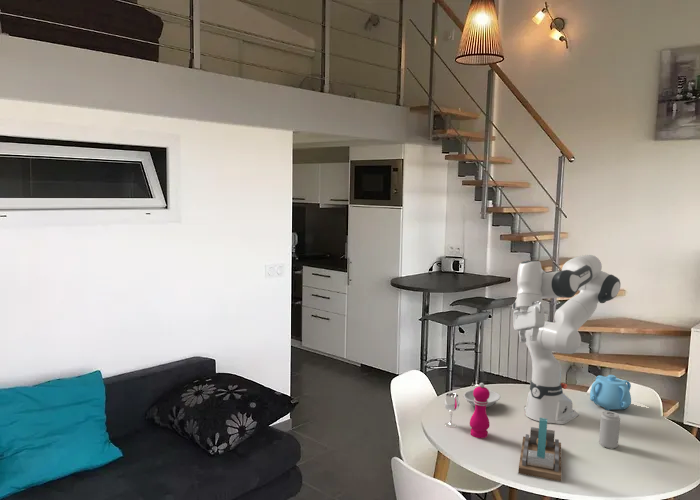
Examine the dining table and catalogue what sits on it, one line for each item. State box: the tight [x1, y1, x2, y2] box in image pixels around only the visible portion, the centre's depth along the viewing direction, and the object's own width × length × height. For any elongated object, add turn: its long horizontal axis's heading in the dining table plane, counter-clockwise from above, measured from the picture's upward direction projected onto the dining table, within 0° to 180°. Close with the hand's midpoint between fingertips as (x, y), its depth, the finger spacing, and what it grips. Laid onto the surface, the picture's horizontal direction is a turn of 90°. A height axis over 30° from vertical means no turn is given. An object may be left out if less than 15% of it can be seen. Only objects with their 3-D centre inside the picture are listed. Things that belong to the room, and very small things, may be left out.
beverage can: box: [598, 410, 621, 449], centre depth 211 cm, size 6×6×12 cm
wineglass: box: [443, 392, 460, 429], centre depth 225 cm, size 6×6×12 cm
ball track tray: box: [518, 426, 562, 482], centre depth 198 cm, size 26×13×7 cm, turn 160°
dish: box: [462, 389, 501, 408], centre depth 246 cm, size 18×14×5 cm
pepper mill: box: [469, 382, 490, 439], centre depth 216 cm, size 7×7×20 cm
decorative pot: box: [589, 374, 632, 411], centre depth 252 cm, size 16×16×14 cm
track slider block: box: [527, 418, 554, 469], centre depth 190 cm, size 5×8×15 cm, turn 70°
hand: (528, 341), depth 210 cm, fingers open, 8 cm apart
